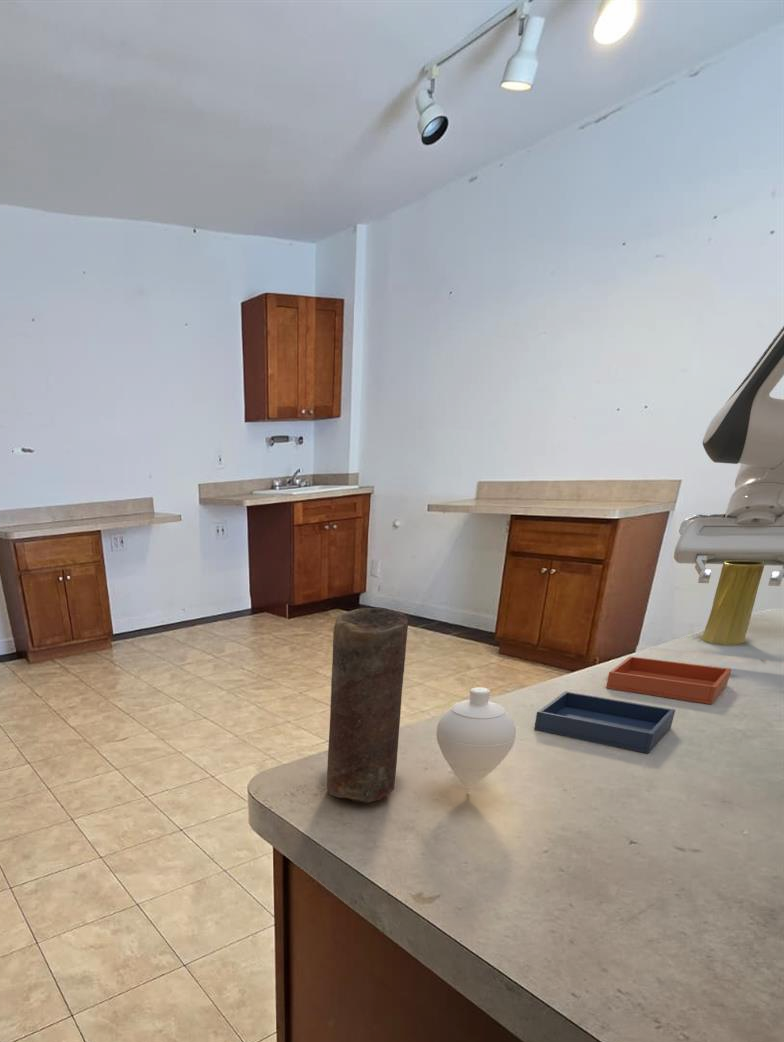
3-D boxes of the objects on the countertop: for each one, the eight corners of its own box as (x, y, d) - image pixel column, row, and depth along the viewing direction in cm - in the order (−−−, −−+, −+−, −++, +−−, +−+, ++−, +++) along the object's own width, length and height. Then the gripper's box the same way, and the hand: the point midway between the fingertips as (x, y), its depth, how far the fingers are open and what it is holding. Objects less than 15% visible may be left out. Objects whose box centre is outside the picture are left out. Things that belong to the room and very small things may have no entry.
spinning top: (438, 774, 74) (447, 675, 69) (509, 784, 71) (525, 681, 65) (424, 803, 68) (433, 697, 63) (502, 816, 65) (518, 705, 60)
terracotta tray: (726, 685, 93) (731, 668, 92) (711, 704, 87) (716, 687, 86) (626, 671, 102) (629, 656, 101) (605, 688, 96) (609, 672, 95)
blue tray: (670, 728, 81) (675, 709, 80) (648, 753, 75) (653, 734, 74) (562, 708, 90) (565, 691, 89) (533, 729, 84) (536, 711, 83)
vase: (705, 642, 113) (727, 558, 107) (747, 647, 109) (773, 560, 103) (693, 649, 110) (715, 564, 104) (736, 655, 105) (762, 566, 99)
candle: (405, 787, 72) (418, 609, 63) (382, 816, 66) (392, 625, 58) (342, 774, 76) (346, 605, 67) (315, 800, 70) (316, 620, 62)
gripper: (685, 503, 113) (665, 568, 110) (842, 500, 101) (823, 573, 98) (682, 527, 118) (662, 590, 115) (831, 526, 106) (813, 597, 103)
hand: (738, 582), depth 107 cm, fingers open, 8 cm apart
